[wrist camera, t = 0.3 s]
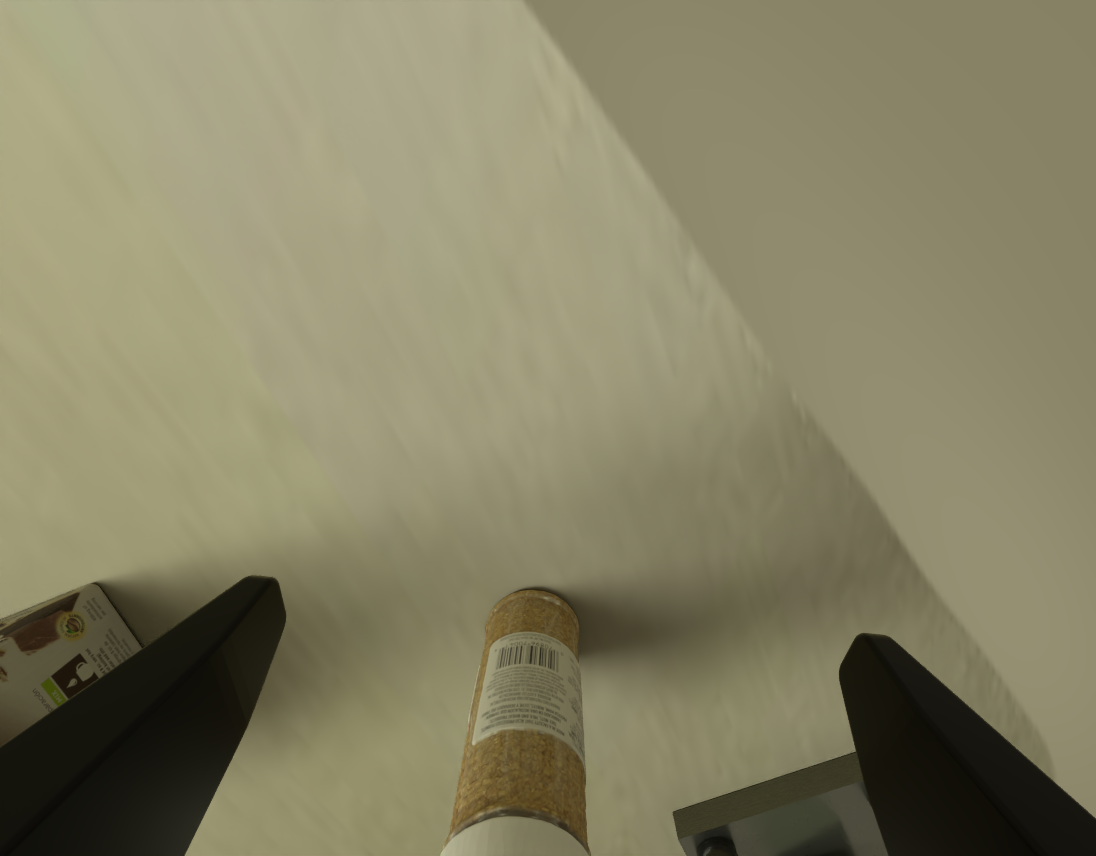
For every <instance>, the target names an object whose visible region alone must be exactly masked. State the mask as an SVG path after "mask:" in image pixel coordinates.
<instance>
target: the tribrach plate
mask: <svg viewBox="0 0 1096 856" xmlns="http://www.w3.org/2000/svg"><path fill="white" fill-rule="evenodd" d="M673 817H674V822H675V826H676V831H677V836H678V840H679V842H680V844H681V846H682V848H683V850H684V852H685V854H686V855H687V856H888V853H887V850H886V847H885V845H884V842H883V839H882V836H881V833H880V830H879V827H878V824H877V821H876V818H875V815H874V812H873V809H872V807H871V804H870V801H869V797H868V794H867V791H866V788H865V785H864V781H863V777H862V774H861V770H860V766H859V762H858V758H857V753H856V752H855V753H852V754H849V755H846V756H843V757H840V758H837V759H834V760H831V761H828V762H825V763H822V764H819V765H816V766H812V767H809V768H806V769H803V770H800V771H797V772H794V773H791V774H788V775H785V776H782V777H779V778H776V779H773V780H770V781H767V782H764V783H761V784H757V785H754V786H751V787H748V788H745V789H742V790H739V791H736V792H733V793H730V794H727V795H724V796H721V797H718V798H715V799H712V800H709V801H706V802H703V803H699V804H696V805H693V806H690V807H687V808H684V809H681V810H678V811H675V812H673Z"/></svg>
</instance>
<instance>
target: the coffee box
mask: <svg viewBox="0 0 1096 856" xmlns="http://www.w3.org/2000/svg"><path fill="white" fill-rule="evenodd" d="M141 649H142V647H141V646H140V644H139V643H138V641H137V640H136V639H135V637H134V636H133V635H132V633H131V632H130V630H129V629H128V627H127V626H126V624H125V623H124V621H123V620H122V619H121V617H120V616H119V614H118V613H117V612H116V610H115V609H114V607H113V606H112V604H111V603H110V601H109V600H108V599H107V597H106V596H105V594H104V593H103V591H102V590H101V588H100V587H99V586H97V585H95V584H88V585H85V586H82V587H80V588H77V589H75V590H72V591H70V592H67V593H65V594H62V595H60V596H57V597H55V598H52V599H50V600H47V601H45V602H42V603H40V604H38V605H35V606H33V607H30V608H28V609H25V610H23V611H20V612H18V613H15V614H13V615H10V616H8V617H5V618H2V619H0V746H2V745H3V744H5V743H6V742H7V741H9V740H10V739H12V738H13V737H15V736H16V735H18V734H19V733H21V732H22V731H23V730H25V729H26V728H28V727H29V726H31V725H32V724H34V723H35V722H36V721H38V720H39V719H41V718H42V717H44V716H45V715H47V714H48V713H49V712H51V711H52V710H54V709H55V708H57V707H58V706H60V705H61V704H62V703H64V702H65V701H67V700H68V699H70V698H71V697H73V696H74V695H76V694H77V693H78V692H80V691H81V690H83V689H84V688H86V687H87V686H89V685H90V684H91V683H93V682H94V681H96V680H97V679H99V678H100V677H102V676H103V675H104V674H106V673H107V672H109V671H110V670H112V669H113V668H115V667H116V666H117V665H119V664H120V663H122V662H123V661H125V660H126V659H128V658H129V657H131V656H132V655H133V654H135V653H136V652H138V651H139V650H141Z"/></svg>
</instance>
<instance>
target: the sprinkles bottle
mask: <svg viewBox="0 0 1096 856" xmlns="http://www.w3.org/2000/svg"><path fill="white" fill-rule="evenodd" d="M485 629H486V640H485V647H484V651H483V656H482V662H481V664H480V666H479V668H478V673H477V678H476V683H475V688H474V693H473V698H472V703H471V708H470V713H469V718H468V733H467V737H466V742H465V748H464V754H463V760H462V766H461V772H460V775H459V782H458V786H457V795H456V799H455V805H454V810H453V817H452V822H451V828H450V834H449V835H448V837H447V839H446V841H445V843H444V846H443V851H442V853H441V854H440V856H591V853H590V850H589V847H588V843H587V829H586V827H587V822H586V812H585V809H586V800H585V785H586V768H585V751H584V730H583V711H582V692H581V674H580V668H579V663H578V645H577V644H578V641H579V633H580V630H579V623H578V619H577V617H576V616H575V614H574V612H573V610H572V609H571V608H570V607H569V606H568V604H567V603H566V602H565V601H563V600H562V599H561V598H559V597H557V596H556V595H554V594H551V593H548V592H545V591H536V590H525V591H518V592H515V593H513V594H510V595H508V596H506V597H505V598H503V599H502V600H501V601H500V602H499V603H498V604H496V606H495V607H494V608H493V609H492V610H491V612H490V614H489V616H488V620H487V623H486V627H485Z"/></svg>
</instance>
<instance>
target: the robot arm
mask: <svg viewBox="0 0 1096 856" xmlns="http://www.w3.org/2000/svg"><path fill="white" fill-rule="evenodd" d="M285 623H286V611H285V606H284V602H283V598H282V594H281V590H280V585H279V582H278V581H277V580H276V579H275V578H273V577H266V576H256V575H251V576H248V577H245V578H244V579H242V580H240V581H239V582H238V583H236V584H235V585H233V586H232V587H230V588H229V589H227V590H226V591H225V592H223V593H222V594H220V595H219V596H217V597H216V598H214V599H213V600H212V601H210V602H209V603H207V604H206V605H204V606H203V607H201V608H200V609H199V610H197V611H196V612H194V613H193V614H191V615H190V616H188V617H187V618H186V619H184V620H183V621H181V622H180V623H178V624H177V625H175V626H174V627H172V628H171V629H170V630H168V631H167V632H165V633H164V634H162V635H161V636H159V637H158V638H157V639H155V640H154V641H152V642H151V643H149V644H148V645H146V646H145V647H144V648H142V649H141V650H139V651H138V652H136V653H135V654H133V655H132V656H131V657H129V658H128V659H126V660H125V661H123V662H122V663H120V664H119V665H117V666H116V667H115V668H113V669H112V670H110V671H109V672H107V673H106V674H104V675H103V676H102V677H100V678H99V679H97V680H96V681H94V682H93V683H91V684H90V685H89V686H87V687H86V688H84V689H83V690H81V691H80V692H78V693H77V694H76V695H74V696H73V697H71V698H70V699H68V700H67V701H65V702H64V703H62V704H61V705H60V706H58V707H57V708H55V709H54V710H52V711H51V712H49V713H48V714H47V715H45V716H44V717H42V718H41V719H39V720H38V721H36V722H35V723H34V724H32V725H31V726H29V727H28V728H26V729H25V730H23V731H22V732H21V733H19V734H18V735H16V736H15V737H13V738H12V739H10V740H9V741H7V742H6V743H5V744H3V745H2V746H0V856H185V854H186V852H187V850H188V847H189V845H190V843H191V841H192V839H193V837H194V835H195V833H196V831H197V829H198V827H199V825H200V823H201V821H202V819H203V817H204V815H205V813H206V811H207V809H208V807H209V805H210V803H211V801H212V798H213V796H214V794H215V792H216V790H217V788H218V786H219V784H220V782H221V780H222V778H223V776H224V774H225V772H226V770H227V768H228V766H229V764H230V762H231V760H232V758H233V756H234V754H235V752H236V750H237V747H238V745H239V743H240V741H241V739H242V737H243V735H244V733H245V730H246V728H247V726H248V724H249V721H250V719H251V716H252V714H253V711H254V709H255V706H256V703H257V700H258V698H259V695H260V692H261V690H262V687H263V684H264V682H265V679H266V676H267V673H268V671H269V668H270V665H271V663H272V660H273V657H274V654H275V652H276V649H277V646H278V644H279V641H280V638H281V635H282V633H283V630H284V627H285ZM839 681H840V686H841V690H842V694H843V698H844V703H845V707H846V711H847V715H848V720H849V724H850V728H851V732H852V736H853V741H854V745H855V749H856V753H857V758H858V762H859V766H860V770H861V774H862V777H863V781H864V785H865V788H866V791H867V794H868V797H869V801H870V804H871V807H872V809H873V812H874V815H875V818H876V821H877V824H878V827H879V830H880V833H881V836H882V839H883V842H884V845H885V847H886V850H887V853H888V856H1096V818H1095V817H1093V816H1092V815H1091V814H1090V813H1089V812H1088V811H1087V810H1086V809H1084V808H1083V807H1082V806H1081V805H1080V804H1079V803H1078V802H1076V801H1075V800H1074V799H1073V798H1072V797H1071V796H1070V795H1068V794H1067V793H1066V792H1065V791H1064V790H1063V789H1062V788H1061V787H1059V786H1058V785H1057V784H1056V783H1055V782H1054V781H1053V780H1052V779H1050V778H1049V777H1048V776H1047V775H1046V774H1045V773H1044V772H1043V771H1041V770H1040V769H1039V768H1038V767H1037V766H1036V765H1035V764H1033V763H1032V762H1031V761H1030V760H1029V759H1028V758H1027V757H1026V756H1024V755H1023V754H1022V753H1021V752H1020V751H1019V750H1018V749H1016V748H1015V747H1014V746H1013V745H1012V744H1011V743H1010V742H1009V741H1007V740H1006V739H1005V738H1004V737H1003V736H1002V735H1001V734H1000V733H998V732H997V731H996V730H995V729H994V728H993V727H992V726H990V725H989V724H988V723H987V722H986V721H985V720H984V719H983V718H981V717H980V716H979V715H978V714H977V713H976V712H975V711H973V710H972V709H971V708H970V707H969V706H968V705H967V704H966V703H964V702H963V701H962V700H961V699H960V698H959V697H958V696H956V695H955V694H954V693H953V692H952V691H951V690H950V689H949V688H947V687H946V686H945V685H944V684H943V683H942V682H941V681H940V680H938V679H937V678H936V677H935V676H934V675H933V674H932V673H930V672H929V671H928V670H927V669H926V668H925V667H924V666H923V665H921V664H920V663H919V662H918V661H917V660H916V659H915V658H913V657H912V656H911V655H910V654H909V653H908V652H907V651H906V650H904V649H903V648H902V647H901V646H900V645H899V644H898V643H896V642H895V641H894V640H893V639H892V638H890V637H888V636H886V635H880V634H869V633H861V634H859V635H857V636H856V638H855V639H854V641H853V643H852V645H851V646H850V648H849V650H848V652H847V654H846V656H845V657H844V659H843V661H842V663H841V665H840V669H839Z"/></svg>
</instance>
